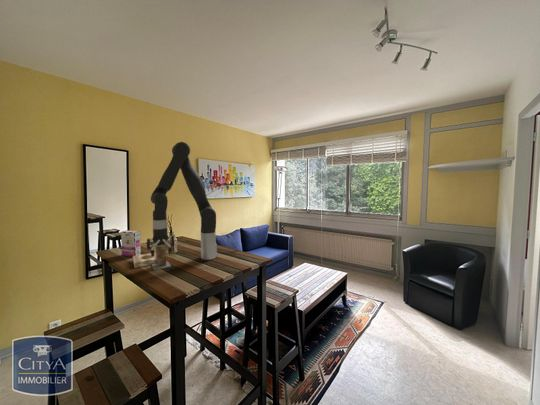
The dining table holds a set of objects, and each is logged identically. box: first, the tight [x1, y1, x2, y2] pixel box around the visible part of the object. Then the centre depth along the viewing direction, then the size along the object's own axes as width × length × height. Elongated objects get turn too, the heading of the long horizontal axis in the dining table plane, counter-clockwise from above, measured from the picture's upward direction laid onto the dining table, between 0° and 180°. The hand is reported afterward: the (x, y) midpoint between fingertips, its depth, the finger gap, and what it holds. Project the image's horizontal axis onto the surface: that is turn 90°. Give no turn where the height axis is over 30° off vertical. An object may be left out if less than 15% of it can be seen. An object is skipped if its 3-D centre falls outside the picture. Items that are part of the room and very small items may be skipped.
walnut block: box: [155, 244, 167, 267], centre depth 130 cm, size 4×4×11 cm
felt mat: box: [151, 260, 172, 271], centre depth 130 cm, size 9×9×1 cm
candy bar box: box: [120, 229, 142, 258], centre depth 147 cm, size 11×5×16 cm, turn 76°
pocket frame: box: [132, 251, 156, 269], centre depth 137 cm, size 14×14×3 cm
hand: (161, 254), depth 130 cm, fingers open, 8 cm apart
